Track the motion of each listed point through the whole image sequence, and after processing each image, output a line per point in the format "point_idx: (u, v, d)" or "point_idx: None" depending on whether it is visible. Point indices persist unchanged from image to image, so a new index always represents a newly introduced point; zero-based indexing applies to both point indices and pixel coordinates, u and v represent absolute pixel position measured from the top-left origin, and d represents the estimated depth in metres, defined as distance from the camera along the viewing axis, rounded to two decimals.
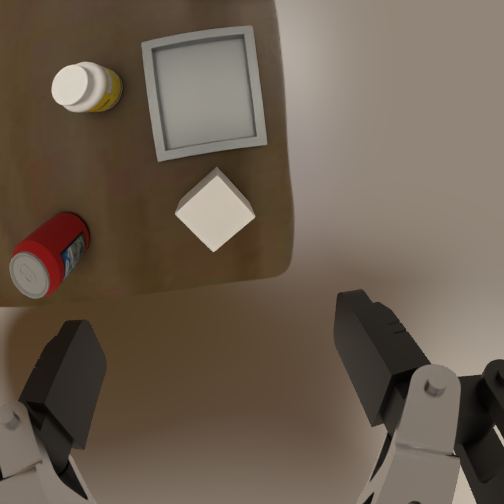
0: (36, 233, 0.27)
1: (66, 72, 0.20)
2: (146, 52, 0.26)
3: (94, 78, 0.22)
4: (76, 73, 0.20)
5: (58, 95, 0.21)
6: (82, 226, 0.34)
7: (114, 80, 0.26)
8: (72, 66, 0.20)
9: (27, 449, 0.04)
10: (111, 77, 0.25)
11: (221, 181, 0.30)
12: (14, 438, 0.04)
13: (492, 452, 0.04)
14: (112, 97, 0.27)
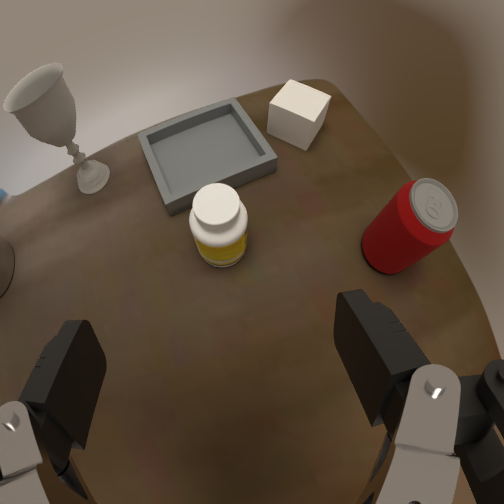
0: (392, 228, 0.26)
1: (201, 210, 0.25)
2: (175, 196, 0.33)
3: None
4: (202, 198, 0.25)
5: (229, 211, 0.25)
6: (369, 225, 0.34)
7: None
8: (194, 205, 0.25)
9: (27, 449, 0.04)
10: None
11: (273, 99, 0.35)
12: (14, 438, 0.04)
13: (492, 452, 0.04)
14: None
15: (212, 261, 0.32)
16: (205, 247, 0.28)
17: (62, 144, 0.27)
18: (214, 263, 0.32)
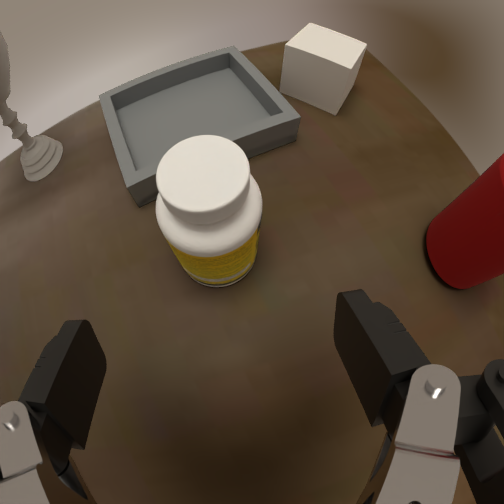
0: (492, 222, 0.14)
1: (173, 184, 0.12)
2: (142, 174, 0.20)
3: None
4: (175, 162, 0.12)
5: (228, 185, 0.12)
6: (435, 218, 0.21)
7: None
8: (159, 176, 0.12)
9: (27, 449, 0.04)
10: None
11: (290, 41, 0.22)
12: (14, 438, 0.04)
13: (492, 452, 0.04)
14: None
15: (201, 279, 0.19)
16: (185, 257, 0.15)
17: None
18: (204, 281, 0.19)
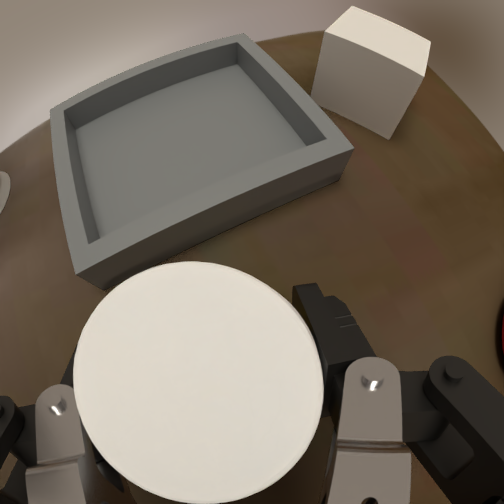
0: None
1: (117, 427, 0.04)
2: (98, 251, 0.12)
3: None
4: (114, 356, 0.04)
5: (268, 443, 0.04)
6: None
7: None
8: (81, 394, 0.04)
9: (81, 431, 0.05)
10: None
11: (331, 28, 0.13)
12: (57, 423, 0.05)
13: (454, 446, 0.05)
14: None
15: None
16: None
17: None
18: None
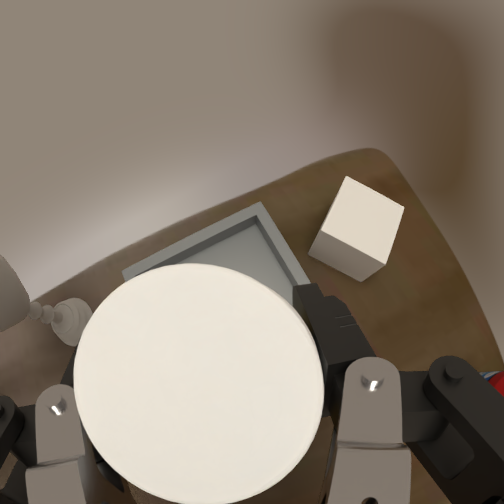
0: None
1: (117, 429, 0.04)
2: None
3: None
4: (114, 358, 0.04)
5: (268, 445, 0.04)
6: None
7: None
8: (81, 396, 0.04)
9: (81, 431, 0.05)
10: None
11: (325, 223, 0.24)
12: (57, 423, 0.05)
13: (454, 446, 0.05)
14: None
15: None
16: None
17: (16, 323, 0.17)
18: None
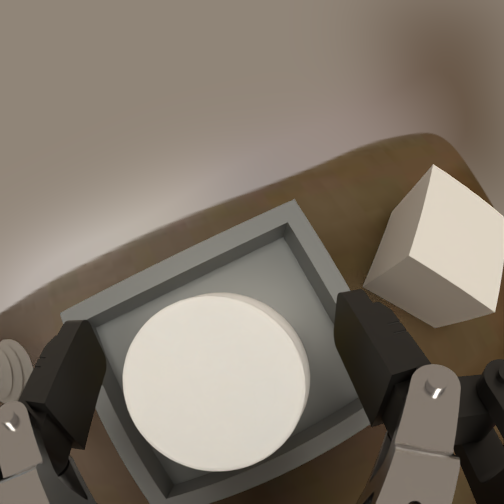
0: None
1: (158, 416, 0.06)
2: None
3: None
4: (155, 365, 0.06)
5: (267, 423, 0.06)
6: None
7: None
8: (129, 394, 0.06)
9: (27, 449, 0.04)
10: None
11: (415, 242, 0.12)
12: (14, 437, 0.04)
13: (492, 452, 0.04)
14: None
15: None
16: None
17: None
18: None
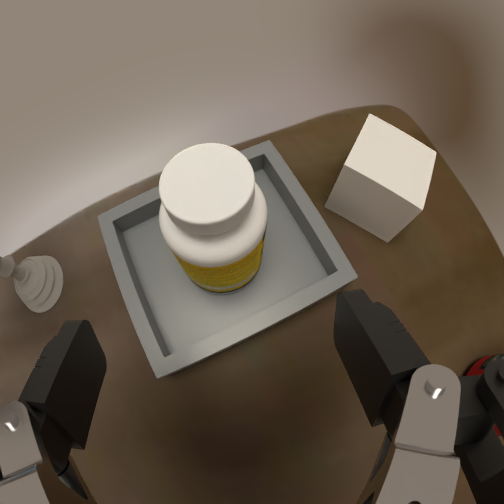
0: None
1: (176, 195, 0.12)
2: (173, 363, 0.17)
3: None
4: (178, 172, 0.12)
5: (233, 196, 0.12)
6: (473, 373, 0.18)
7: None
8: (162, 187, 0.12)
9: (27, 449, 0.04)
10: None
11: (349, 157, 0.19)
12: (14, 437, 0.04)
13: (492, 452, 0.04)
14: None
15: (205, 286, 0.19)
16: (190, 267, 0.15)
17: None
18: (209, 289, 0.19)
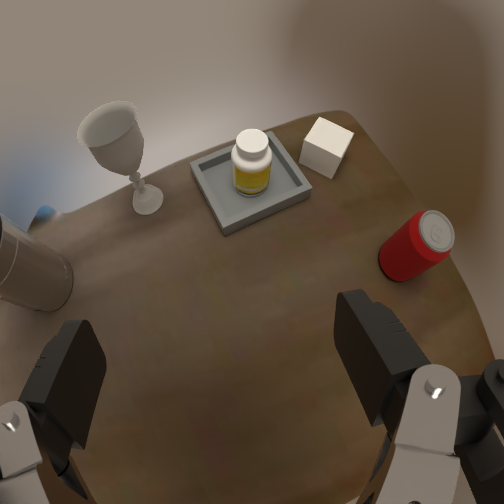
0: (404, 249, 0.34)
1: (243, 144, 0.36)
2: (231, 220, 0.41)
3: None
4: (242, 137, 0.36)
5: (261, 144, 0.36)
6: (384, 243, 0.42)
7: None
8: (237, 141, 0.36)
9: (27, 449, 0.04)
10: None
11: (307, 137, 0.43)
12: (14, 437, 0.04)
13: (492, 452, 0.04)
14: None
15: (245, 190, 0.42)
16: (243, 174, 0.39)
17: (129, 173, 0.35)
18: (246, 192, 0.43)
